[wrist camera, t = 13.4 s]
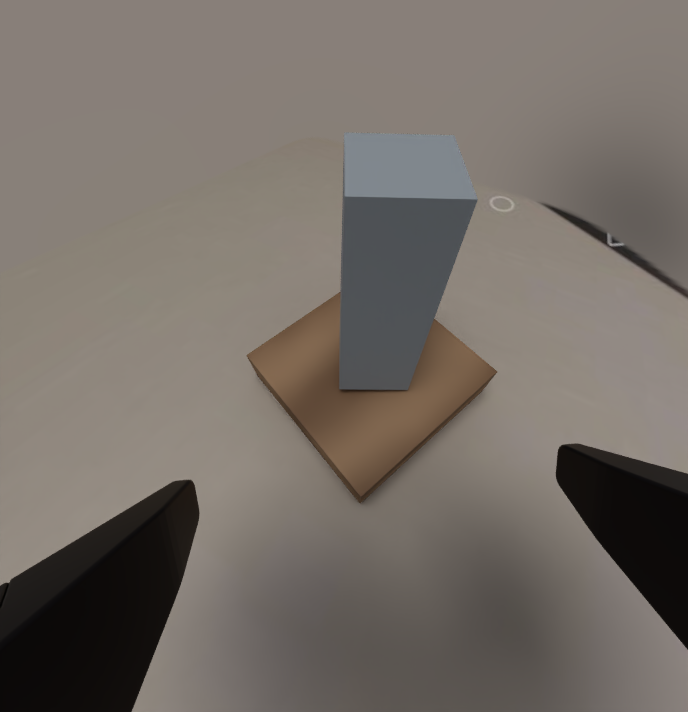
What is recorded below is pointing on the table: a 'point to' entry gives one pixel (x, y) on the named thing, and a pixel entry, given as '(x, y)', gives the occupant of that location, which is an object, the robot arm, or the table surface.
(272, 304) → the table surface
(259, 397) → the table surface
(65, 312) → the table surface
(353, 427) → the walnut block
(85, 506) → the table surface
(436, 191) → the slate block
